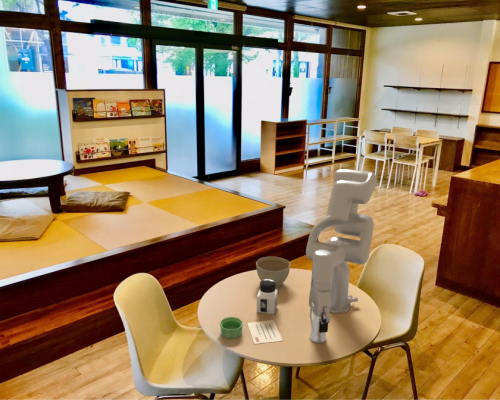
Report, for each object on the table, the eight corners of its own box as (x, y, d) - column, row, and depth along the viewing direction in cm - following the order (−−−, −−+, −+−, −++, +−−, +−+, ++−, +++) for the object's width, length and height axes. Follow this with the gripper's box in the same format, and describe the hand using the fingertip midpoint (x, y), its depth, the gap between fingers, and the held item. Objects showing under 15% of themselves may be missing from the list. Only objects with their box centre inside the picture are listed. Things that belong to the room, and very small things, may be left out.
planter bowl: (272, 296, 190) (273, 274, 187) (248, 283, 202) (249, 262, 198) (296, 285, 201) (297, 264, 198) (272, 273, 212) (273, 253, 209)
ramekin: (236, 324, 169) (236, 314, 168) (247, 336, 161) (247, 326, 160) (216, 330, 165) (216, 320, 163) (225, 342, 157) (225, 332, 156)
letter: (273, 320, 172) (273, 320, 171) (283, 340, 158) (283, 340, 158) (247, 323, 169) (247, 322, 169) (254, 344, 156) (254, 343, 156)
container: (274, 314, 176) (275, 286, 172) (256, 312, 177) (256, 284, 173) (277, 305, 183) (278, 278, 179) (259, 303, 184) (260, 276, 181)
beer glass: (314, 330, 165) (316, 296, 161) (330, 337, 161) (333, 303, 156) (305, 339, 160) (307, 304, 155) (321, 346, 155) (323, 310, 151)
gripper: (304, 273, 161) (301, 313, 165) (320, 295, 144) (317, 339, 149) (322, 272, 162) (319, 312, 167) (340, 293, 146) (336, 337, 151)
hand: (318, 324), depth 158 cm, fingers open, 9 cm apart
